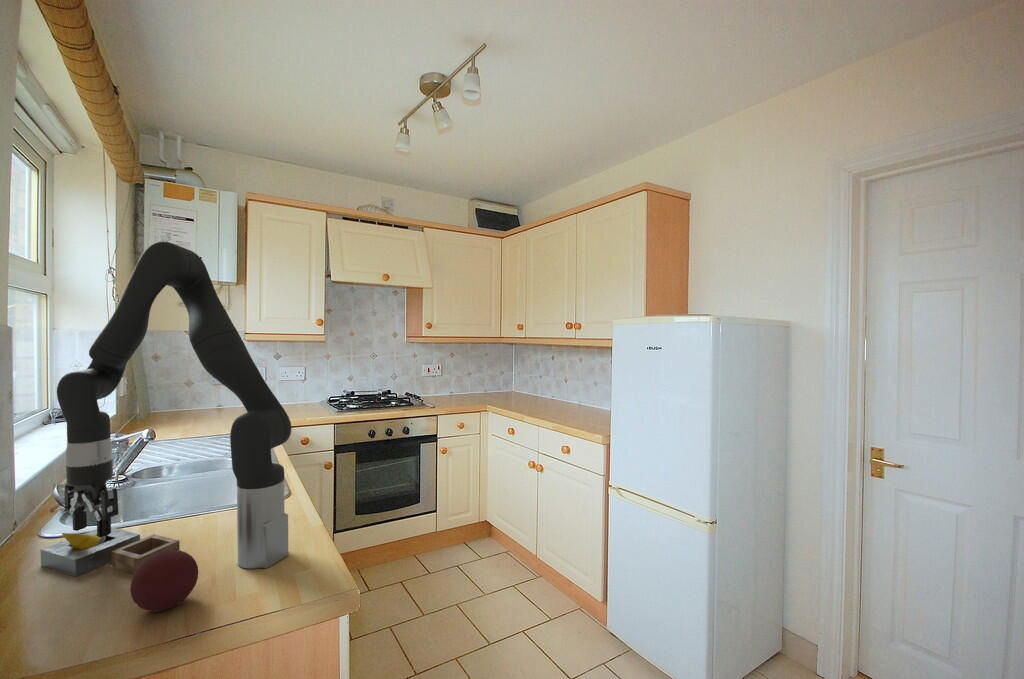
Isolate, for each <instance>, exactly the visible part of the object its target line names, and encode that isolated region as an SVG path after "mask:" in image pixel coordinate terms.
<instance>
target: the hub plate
mask: <svg viewBox="0 0 1024 679" xmlns="http://www.w3.org/2000/svg"><path fill="white" fill-rule="evenodd" d="M82 534H83V535H90V536H91V535H96V536H97V528H96V529H94V530H91V531H88V532H86V533H82ZM139 540H141V534H140V533H135V532H132V531H128V530H124V529H121V528H116V527H112V526H111V533H110V534H109V535H106V539H105V541H104V543H102V544H100V545H97V546H94V547H92V548H89V549H87V550H81V549H77V548H74V547H73V546H72V545H71V544H70V543H69V542H68V541H67V539H65V540H63V541H61V542H57V543H55V544H52V545H49V546H46V547H44V548H41V549H40V566H42V567H45V568H48V569H51V570H55V571H57V572H59V573H63V574H66V575H68V576H69V575H70V576H73V577H75V578H76V577H79V576H81V575H83V574H86V573H88V572H90V571H93V570H95V569H98V568H100V567H103V566H105V565H107V564H109V563H112V554H111V551H114V550H116V549H119V548H121V547H124V546H126V545H129V544H131V543H134V542H136V541H139Z"/></svg>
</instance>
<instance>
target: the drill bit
mask: <svg viewBox="0 0 1024 679" xmlns="http://www.w3.org/2000/svg"><path fill="white" fill-rule="evenodd" d="M83 534H84V533H82V534H81V533H78V534H77V533H68V532H62V533H61V535H62V536H63V537H64V538H65V540H67V541H68V542H69V543H70V544H71V545H72V546H73V547H74V548H77V549H81V550H87V549H89V548H92V547H94V546H97V545H100V544H102V543H104V541H105V539H106V536H103V537H98V536H96V535H91V536H90V535H83Z"/></svg>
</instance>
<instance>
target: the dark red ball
mask: <svg viewBox="0 0 1024 679" xmlns="http://www.w3.org/2000/svg"><path fill="white" fill-rule="evenodd" d="M198 578H199V567H198V564H197V562H196V560H195V558H194V556H192V555H190V554H189V553H188V552H186V551H183V550H181V549H180V550H168V551H163V552H160V553H158V554H156V555H154V556H152V557H150V558H149V559H148V560H146V561H145V562H144V563H143V564H142V565H141V566H140V567H139V568H138V570H137V571H136V573H135V574H133V576H132V580H131V583H130V588H129V590H130V596H131V599H132V601H133V602H134V604H136V606H137V607H138V608H140V609H142V610H144V611H149V612H162V611H165V610H168V609H172V608H173V607H176V606H177V605H179V604H181V603H182V602H183V601H184V600H185V599H187V597H188V596H189V595H190V594H191V593H192V591H193V590H194V588H195V587H196V584H197V582H198Z"/></svg>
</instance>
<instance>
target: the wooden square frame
mask: <svg viewBox="0 0 1024 679" xmlns="http://www.w3.org/2000/svg"><path fill="white" fill-rule="evenodd" d="M168 550H180V551H181V549H180V540H178V539H174V538H171V537H168V536H162V535H160V534H155V533H154V534H151V535H149V536H146V537H144V538H140V540H139V541H136V542H134V543H131V544H129V545H126V546H124V547H121V548H119V549H116V550H114V551H111V554H112V562H111V568H112V569H115V570H118V571H123V572H125V573H129V574H132V575H134V574H135V573H136V571H137V570H138V568H139V567H140V566H141V565H142V564H143V563H144V562H145V561H146V560H148V559H149V558H150V557H152V556H154V555H156V554H158V553H160V552H163V551H168Z"/></svg>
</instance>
